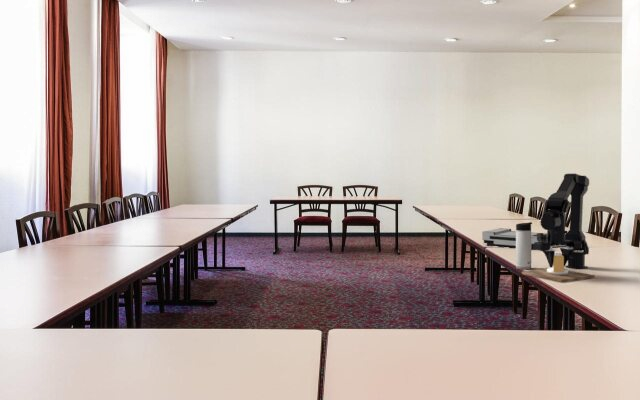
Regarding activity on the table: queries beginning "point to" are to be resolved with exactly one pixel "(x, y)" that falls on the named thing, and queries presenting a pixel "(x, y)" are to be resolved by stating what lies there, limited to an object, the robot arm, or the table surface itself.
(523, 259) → the travel mug
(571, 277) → the base plate
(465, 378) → the table surface
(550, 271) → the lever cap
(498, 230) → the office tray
